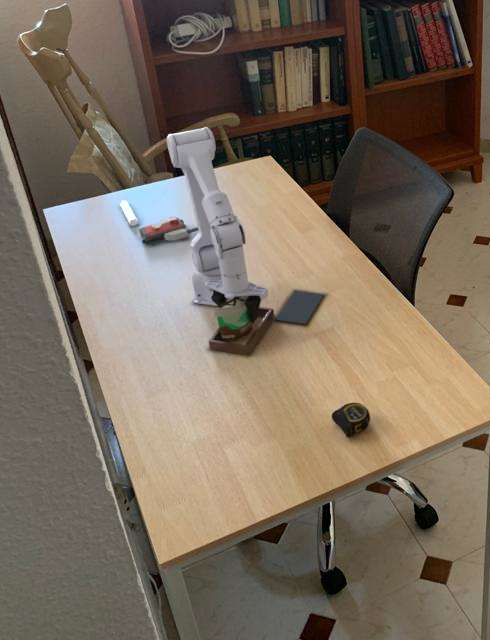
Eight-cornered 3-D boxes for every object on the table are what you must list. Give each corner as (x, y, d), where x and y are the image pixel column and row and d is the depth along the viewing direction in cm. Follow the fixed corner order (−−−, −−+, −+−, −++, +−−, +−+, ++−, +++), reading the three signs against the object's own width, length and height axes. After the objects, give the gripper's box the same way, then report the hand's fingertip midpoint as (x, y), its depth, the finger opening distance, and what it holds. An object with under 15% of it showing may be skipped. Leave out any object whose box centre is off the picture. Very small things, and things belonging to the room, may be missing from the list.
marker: (124, 205, 244) (136, 226, 233) (117, 203, 243) (128, 225, 231) (126, 197, 244) (139, 219, 232) (120, 196, 242) (131, 217, 231)
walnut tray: (210, 349, 184) (208, 341, 182) (239, 311, 196) (237, 303, 195) (247, 355, 182) (246, 346, 180) (274, 316, 195) (273, 308, 193)
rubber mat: (274, 320, 193) (274, 319, 193) (294, 291, 204) (294, 290, 204) (305, 325, 192) (305, 324, 192) (324, 295, 203) (324, 294, 203)
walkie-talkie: (146, 250, 220) (215, 230, 230) (143, 236, 218) (212, 216, 228) (136, 237, 226) (203, 217, 236) (133, 223, 224) (201, 204, 234)
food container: (244, 347, 183) (239, 312, 178) (219, 344, 184) (213, 309, 179) (265, 316, 193) (260, 282, 188) (242, 313, 194) (236, 279, 189)
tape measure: (331, 422, 163) (329, 409, 161) (360, 410, 167) (359, 396, 165) (346, 442, 159) (345, 429, 157) (376, 429, 162) (375, 415, 160)
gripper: (195, 275, 178) (204, 324, 185) (255, 284, 175) (262, 333, 182) (210, 259, 184) (218, 307, 191) (268, 267, 181) (275, 315, 188)
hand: (241, 318), depth 187 cm, fingers closed on food container, 6 cm apart
